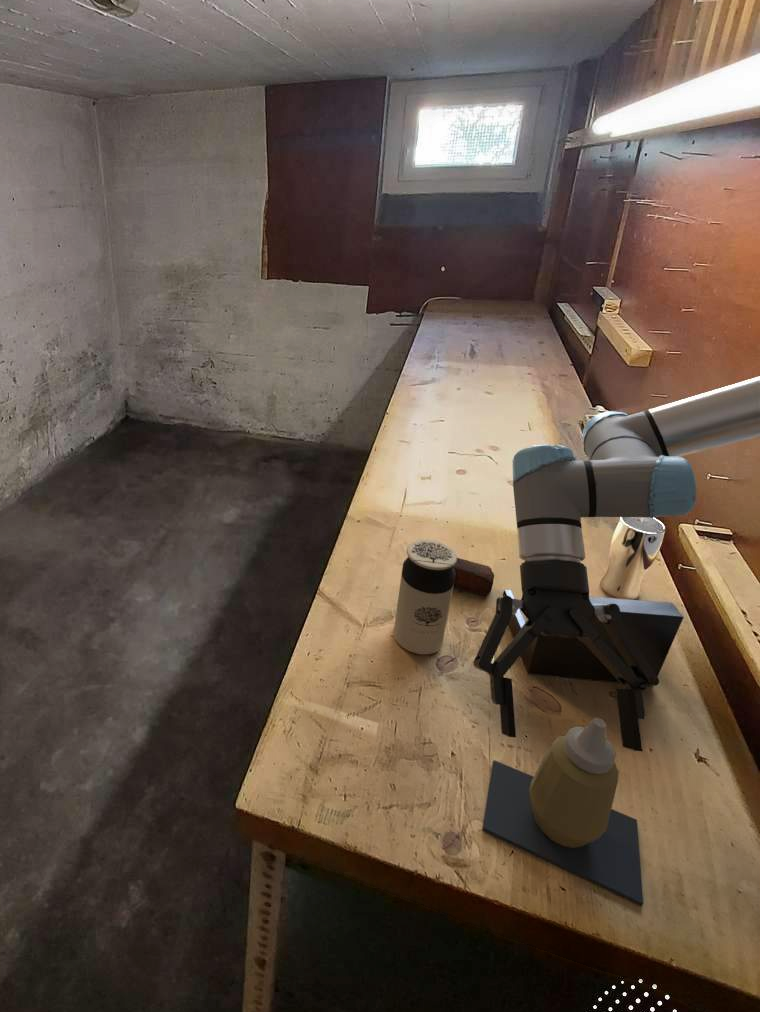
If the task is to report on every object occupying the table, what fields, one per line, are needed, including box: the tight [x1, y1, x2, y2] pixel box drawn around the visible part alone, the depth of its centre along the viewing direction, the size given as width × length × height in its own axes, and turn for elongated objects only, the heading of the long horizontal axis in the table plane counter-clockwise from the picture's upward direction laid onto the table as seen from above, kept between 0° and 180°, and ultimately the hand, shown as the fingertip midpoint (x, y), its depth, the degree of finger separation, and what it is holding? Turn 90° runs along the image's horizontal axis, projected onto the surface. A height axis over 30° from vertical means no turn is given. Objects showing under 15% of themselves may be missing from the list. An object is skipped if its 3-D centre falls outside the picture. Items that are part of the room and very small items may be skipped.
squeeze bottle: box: [529, 717, 620, 848], centre depth 64 cm, size 8×8×18 cm
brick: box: [453, 557, 495, 597], centre depth 107 cm, size 11×4×5 cm, turn 61°
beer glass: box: [599, 517, 667, 600], centre depth 102 cm, size 7×7×15 cm
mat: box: [481, 759, 644, 907], centre depth 68 cm, size 16×10×1 cm, turn 60°
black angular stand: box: [502, 589, 684, 684], centre depth 91 cm, size 16×18×14 cm
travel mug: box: [393, 539, 458, 655], centre depth 92 cm, size 8×8×18 cm
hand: (569, 742), depth 67 cm, fingers open, 13 cm apart
